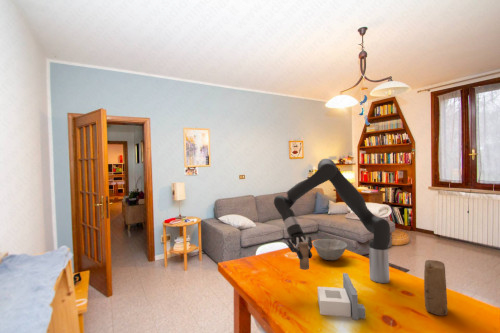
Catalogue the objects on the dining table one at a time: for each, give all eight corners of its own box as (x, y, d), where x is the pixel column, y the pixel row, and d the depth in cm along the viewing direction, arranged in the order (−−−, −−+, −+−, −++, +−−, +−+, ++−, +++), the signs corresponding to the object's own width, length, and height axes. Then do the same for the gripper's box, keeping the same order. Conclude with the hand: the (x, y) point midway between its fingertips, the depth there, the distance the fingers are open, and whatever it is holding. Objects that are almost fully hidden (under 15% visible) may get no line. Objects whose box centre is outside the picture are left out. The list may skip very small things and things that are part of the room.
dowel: (299, 265, 121) (299, 241, 121) (308, 266, 120) (308, 241, 120) (299, 269, 116) (299, 244, 116) (309, 270, 115) (308, 244, 115)
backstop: (343, 293, 117) (342, 273, 117) (354, 294, 116) (353, 273, 116) (352, 319, 97) (352, 294, 97) (366, 320, 96) (365, 295, 96)
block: (447, 319, 95) (446, 268, 95) (424, 312, 100) (422, 264, 100) (447, 306, 104) (445, 260, 104) (425, 301, 109) (424, 256, 109)
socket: (318, 299, 113) (317, 286, 113) (345, 301, 111) (344, 288, 111) (320, 315, 101) (320, 300, 101) (351, 317, 99) (350, 302, 99)
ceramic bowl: (342, 252, 172) (341, 238, 172) (352, 265, 149) (352, 249, 149) (310, 252, 174) (309, 238, 174) (315, 265, 151) (315, 249, 152)
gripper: (283, 225, 123) (295, 257, 111) (307, 222, 127) (322, 252, 116) (278, 233, 128) (290, 264, 116) (302, 229, 132) (316, 259, 121)
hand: (306, 258), depth 116 cm, fingers closed on dowel, 4 cm apart
